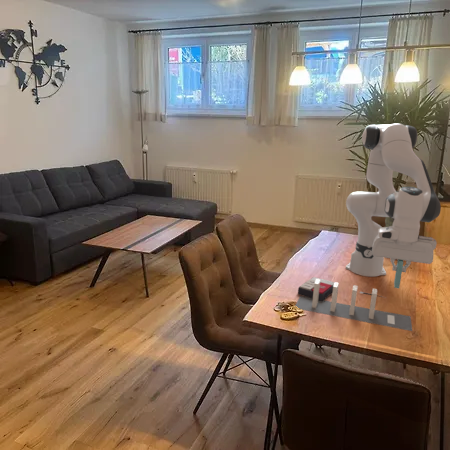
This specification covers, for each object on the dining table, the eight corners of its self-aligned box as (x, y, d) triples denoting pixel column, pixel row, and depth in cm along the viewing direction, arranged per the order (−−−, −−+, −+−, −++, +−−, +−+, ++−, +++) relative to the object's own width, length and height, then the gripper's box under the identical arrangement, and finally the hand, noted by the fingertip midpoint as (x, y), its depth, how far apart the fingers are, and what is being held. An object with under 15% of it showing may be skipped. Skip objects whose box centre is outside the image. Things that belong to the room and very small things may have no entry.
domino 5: (394, 287, 150) (398, 261, 147) (394, 282, 154) (398, 257, 152) (399, 288, 149) (403, 261, 147) (398, 283, 154) (402, 257, 151)
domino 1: (311, 307, 163) (314, 283, 160) (313, 302, 167) (316, 278, 165) (316, 308, 162) (318, 284, 160) (317, 302, 167) (320, 279, 164)
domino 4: (368, 318, 156) (372, 293, 153) (369, 312, 160) (372, 288, 158) (373, 319, 155) (376, 294, 153) (373, 313, 160) (377, 289, 157)
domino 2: (330, 310, 160) (333, 286, 158) (331, 305, 165) (334, 281, 162) (334, 311, 160) (337, 287, 157) (335, 306, 164) (338, 282, 162)
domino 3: (349, 314, 158) (352, 290, 156) (350, 309, 163) (353, 285, 160) (353, 315, 158) (356, 290, 155) (354, 309, 162) (357, 285, 160)
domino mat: (299, 297, 173) (299, 295, 172) (410, 318, 159) (410, 316, 159) (294, 309, 162) (294, 307, 162) (412, 333, 148) (412, 330, 148)
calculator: (298, 285, 173) (313, 275, 185) (297, 295, 174) (312, 284, 186) (323, 292, 167) (337, 281, 179) (322, 302, 168) (336, 290, 180)
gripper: (436, 235, 146) (429, 272, 150) (374, 228, 153) (369, 263, 157) (438, 240, 141) (431, 278, 144) (374, 232, 147) (369, 269, 151)
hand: (398, 270), depth 150 cm, fingers closed on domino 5, 2 cm apart
